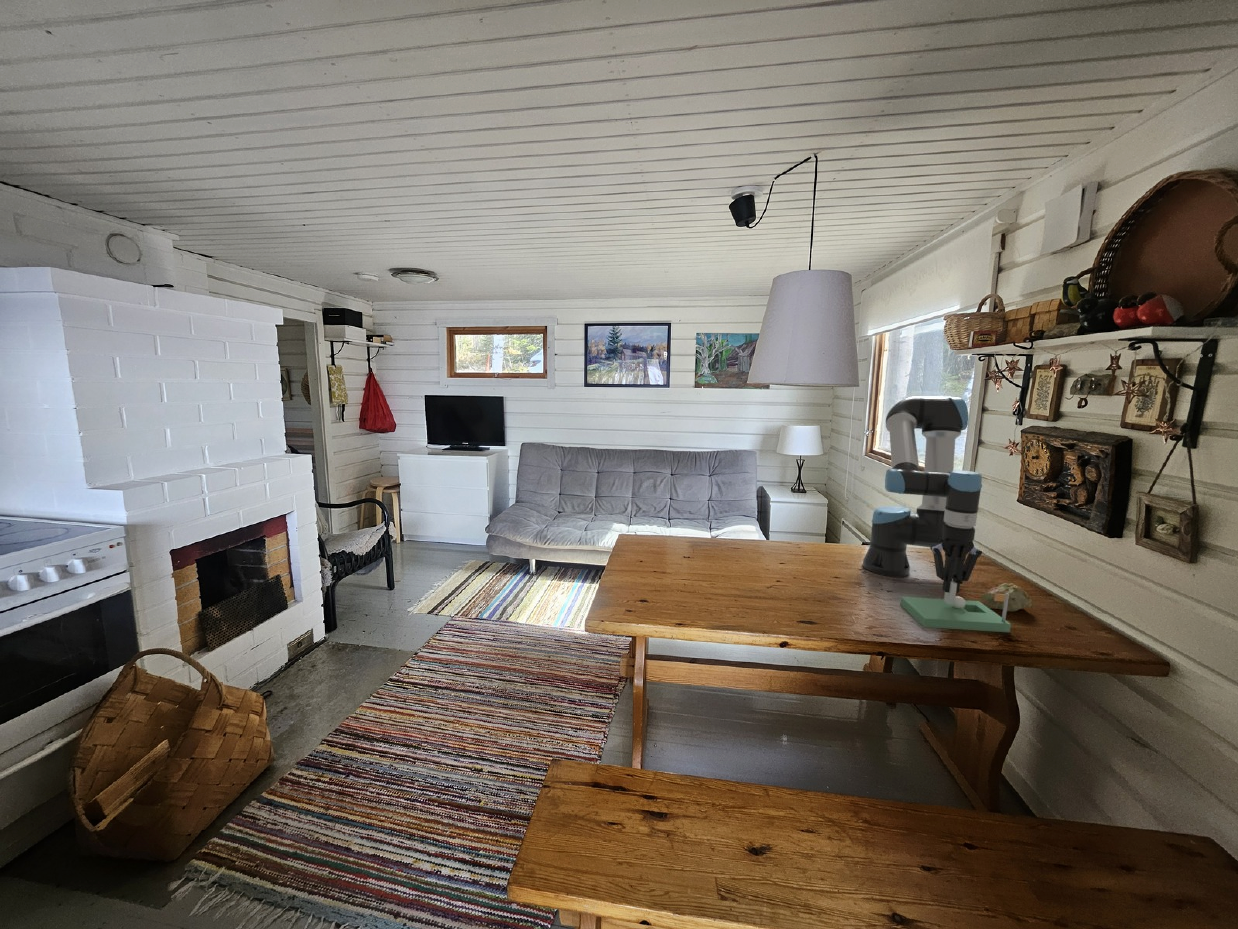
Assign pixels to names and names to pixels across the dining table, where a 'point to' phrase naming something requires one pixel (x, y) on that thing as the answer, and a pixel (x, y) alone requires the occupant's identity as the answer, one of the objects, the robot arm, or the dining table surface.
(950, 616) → the green
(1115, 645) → the dining table surface
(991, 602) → the rock
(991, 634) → the dining table surface
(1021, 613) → the dining table surface
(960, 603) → the ball
